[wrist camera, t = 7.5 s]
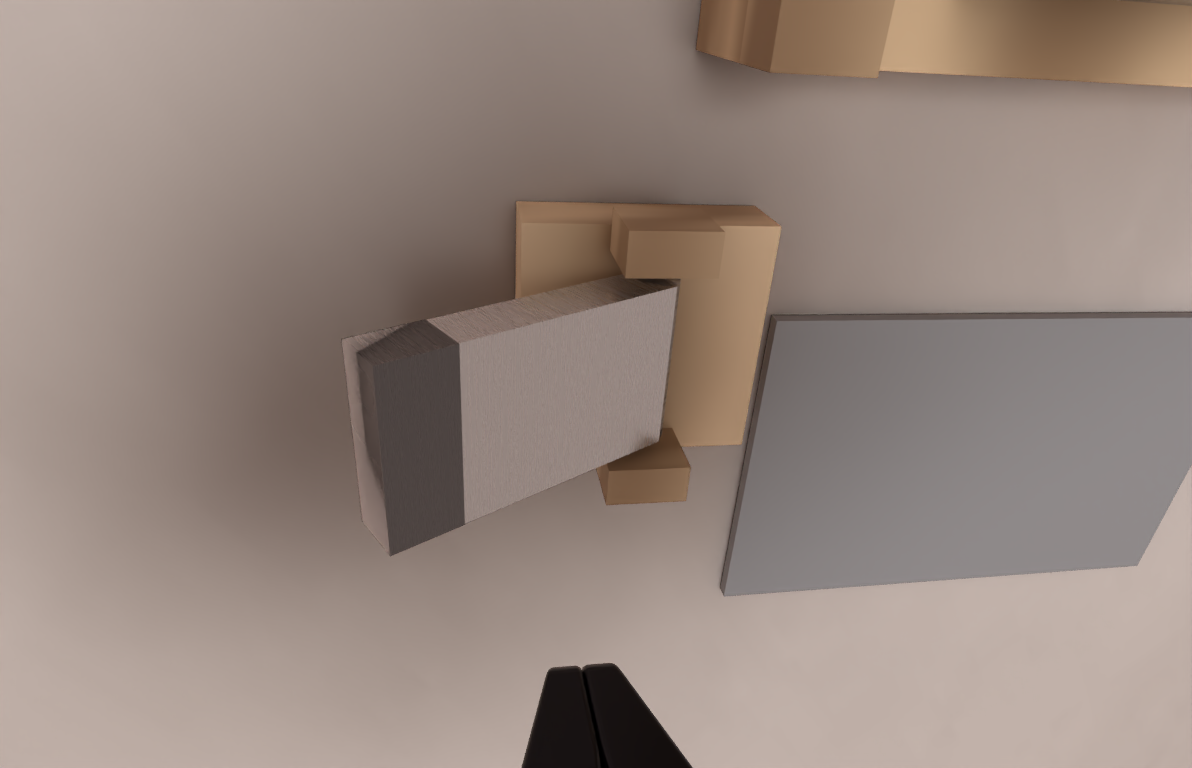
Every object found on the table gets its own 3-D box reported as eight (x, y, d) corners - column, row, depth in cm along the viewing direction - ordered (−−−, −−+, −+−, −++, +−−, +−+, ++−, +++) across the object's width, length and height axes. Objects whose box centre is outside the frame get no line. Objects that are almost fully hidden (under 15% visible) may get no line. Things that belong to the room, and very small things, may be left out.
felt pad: (1259, 311, 23) (1270, 316, 22) (1128, 558, 28) (1137, 565, 27) (771, 315, 20) (776, 321, 20) (720, 587, 25) (723, 596, 25)
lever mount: (757, 189, 18) (817, 233, 15) (719, 422, 22) (762, 496, 18) (516, 184, 17) (528, 229, 14) (514, 428, 21) (523, 509, 17)
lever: (693, 283, 16) (372, 366, 12) (673, 435, 18) (390, 556, 14) (655, 265, 17) (341, 338, 13) (639, 414, 19) (362, 521, 15)
